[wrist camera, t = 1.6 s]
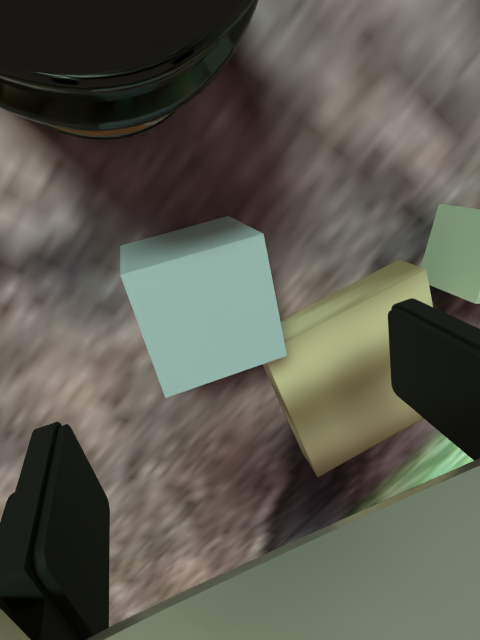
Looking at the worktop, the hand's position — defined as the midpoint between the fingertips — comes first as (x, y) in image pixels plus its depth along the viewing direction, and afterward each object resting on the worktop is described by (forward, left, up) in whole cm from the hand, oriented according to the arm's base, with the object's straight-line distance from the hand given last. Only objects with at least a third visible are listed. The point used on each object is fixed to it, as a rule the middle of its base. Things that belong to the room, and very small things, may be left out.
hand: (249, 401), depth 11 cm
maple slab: (-9, -9, -13) cm, 19 cm away
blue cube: (0, 0, -13) cm, 13 cm away
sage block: (-3, -18, -13) cm, 23 cm away
